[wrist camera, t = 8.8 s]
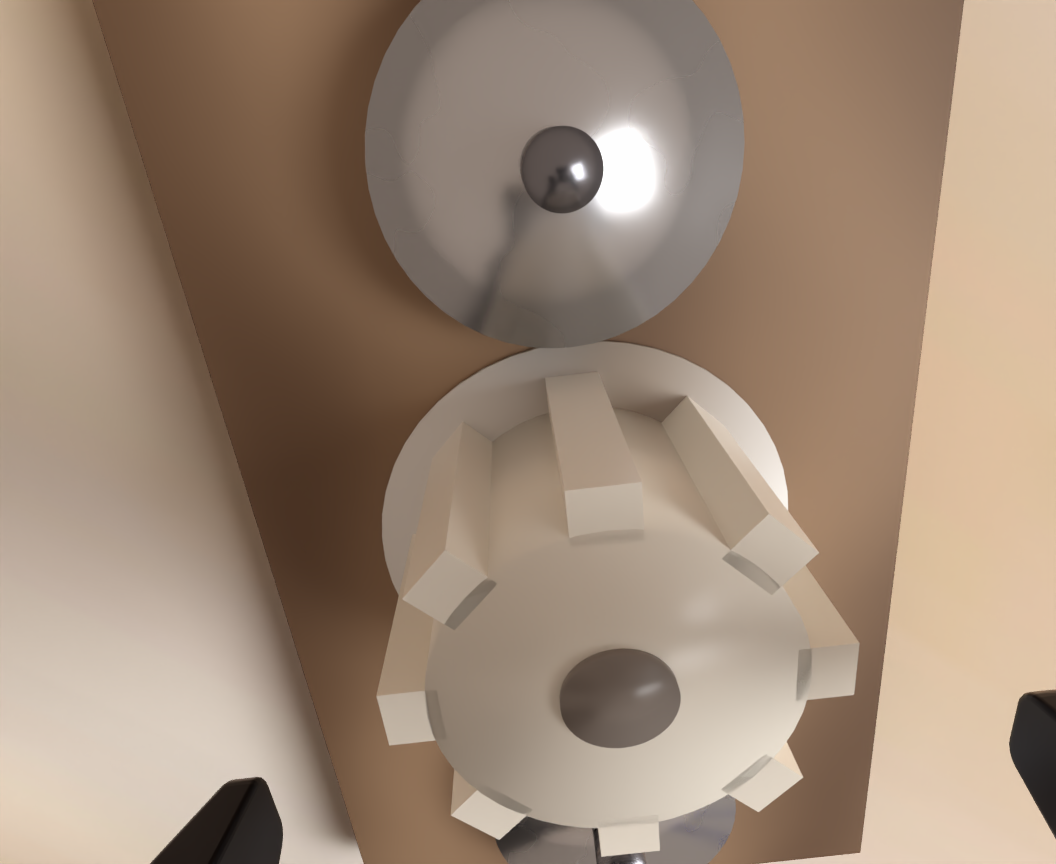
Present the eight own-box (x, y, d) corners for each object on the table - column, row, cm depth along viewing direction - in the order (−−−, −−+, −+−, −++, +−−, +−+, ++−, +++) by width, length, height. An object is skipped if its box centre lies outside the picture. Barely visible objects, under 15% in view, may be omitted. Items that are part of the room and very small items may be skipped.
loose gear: (443, 684, 14) (421, 885, 10) (383, 396, 12) (326, 524, 8) (752, 650, 14) (843, 840, 10) (760, 352, 12) (885, 461, 8)
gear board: (385, 847, 19) (376, 908, 17) (130, -33, 11) (70, -59, 9) (833, 798, 18) (862, 856, 17) (921, -133, 10) (990, -176, 9)
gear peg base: (509, 868, 17) (509, 969, 15) (341, -18, 9) (298, -57, 7) (722, 845, 17) (752, 943, 15) (723, -66, 9) (783, -120, 7)
